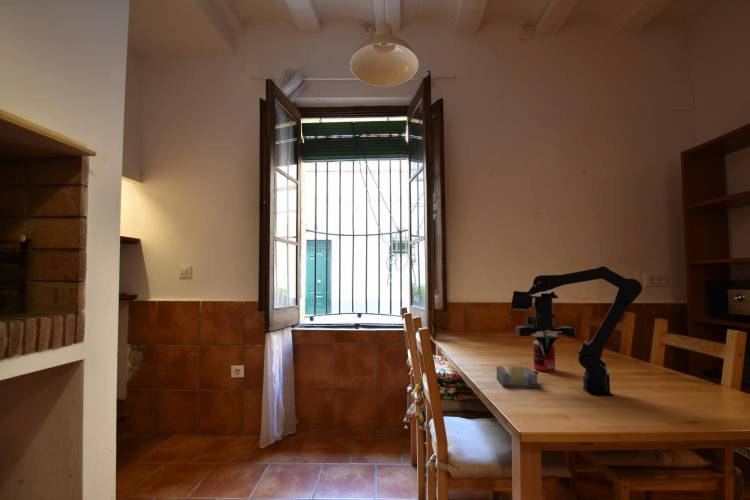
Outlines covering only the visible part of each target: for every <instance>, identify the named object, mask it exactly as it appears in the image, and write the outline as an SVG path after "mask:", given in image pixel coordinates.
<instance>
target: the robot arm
mask: <svg viewBox="0 0 750 500" xmlns="http://www.w3.org/2000/svg"><path fill="white" fill-rule="evenodd" d="M600 279H601V280H604V281H606V282H607V283H610V285H613V286H615V287H617V288H618V289H617V291H616V295H615V298H614V302H613V303H612V304H611V307H610V308H609V310H608V312H607V313H606V315H605V317H604V319H603V321H602V322H601V325H600V326H599V327H598V329H597V331H596V333H595V334H594V336H593V338H592V339H591V340H590V341H587V340H584V341H583V344H582V347H581V348H579V350H578V352H577V355H578V362H579V364H580V365H581V367H583V368H584V369H585V371H584V375H583V376H582V380H583V381H582V383H583V385H582V386H583V387H582V389H583V390H585V391H586V392H587V393H588V394H590V395H592V396H614V394H613V393H612V392H611V383H610V381H611V380H610V374H609V373H607V372H608V364H606V363H605V362H604V361H603V360H602V355H603V351H604V350H605V346H606V344H607V342H608V340H609V338H610V337H611V336H612V333H613V332H614V330H615V329H616V326H617V325H618V324H619V322H620V320H621V318H622V316H623V315H624V313H625V312H626V309H628V307H629V306H630V305H631V304H632V303H633V302H634V301H635V300H636V299H637V298H638V297H639V296H640V294H641V293H642V291H643V285H642V284H641V282H640V281H639V280H637V279H635V278H630V277H628V278H626V277H624V276H622V275H621V274H618V273H617V272H615V271H613V270H611V269H609V268H608V267H606V266H599V267H596V268H590V269H585V270H581V271H579V270H578V271H575V272H569V273H565V274H551V275H550V274H548V275H547V274H543V275H542V274H541V275H537V276H536V277H535V278H534V279H533V281H532V286H531V287H530V289H528V291H519V290H514V291H513V293H512V299H511V307H512V310H516V311H517V310H518V311H531V308H534V314H533V317H532V315H529V316H528V315H526V316H525V317H524V320H525V325H516V326H515V328H514V333H515V334H516V335H517V336H519V337H530V336H531V337H533V338H535V339H536V341H538V342H539V344H540V347H541V350H542V352H543V355H544V356H548V354H549V351H550V349H551V347H552V345H553V343H554V344H555V342H556V341H557V340H559V339H560V338H559V337H558V335H565V336H566V337H570V338H571V337H572V338H573V337H575V338H576V337H577V332H576V329H575V328H574V327H571V326H569V325H568V326H567V325H564V326H563V325H561V326H558V325H557V327H556V326H554V319H555V314H554V304H553V303H554V302H553V301H554V299H559V295H558V294H556V292H555V291H553V290H554V289H557V288H560V287H562V286H567V285H573V284H577V283H583V282H590V281H595V280H600ZM551 290H552V291H551ZM548 291H551V292H550V293H548ZM542 292H543V293H542ZM546 292H547V293H546ZM539 293H541V294H540V295H538V294H539ZM536 294H537V295H536Z"/></svg>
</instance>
